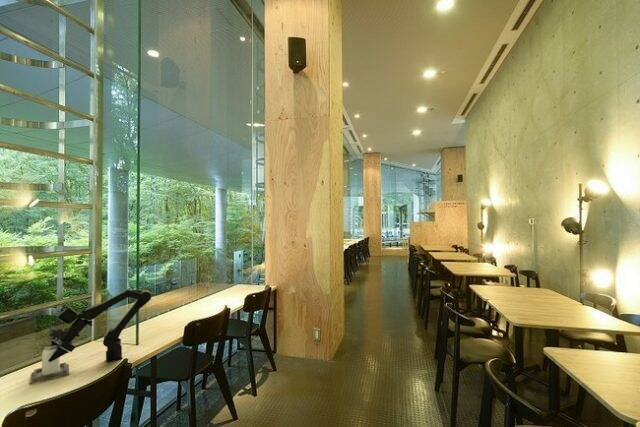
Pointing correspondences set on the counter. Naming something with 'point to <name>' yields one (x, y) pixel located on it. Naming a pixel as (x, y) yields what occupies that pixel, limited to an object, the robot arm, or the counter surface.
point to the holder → (38, 376)
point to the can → (49, 366)
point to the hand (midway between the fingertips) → (46, 359)
